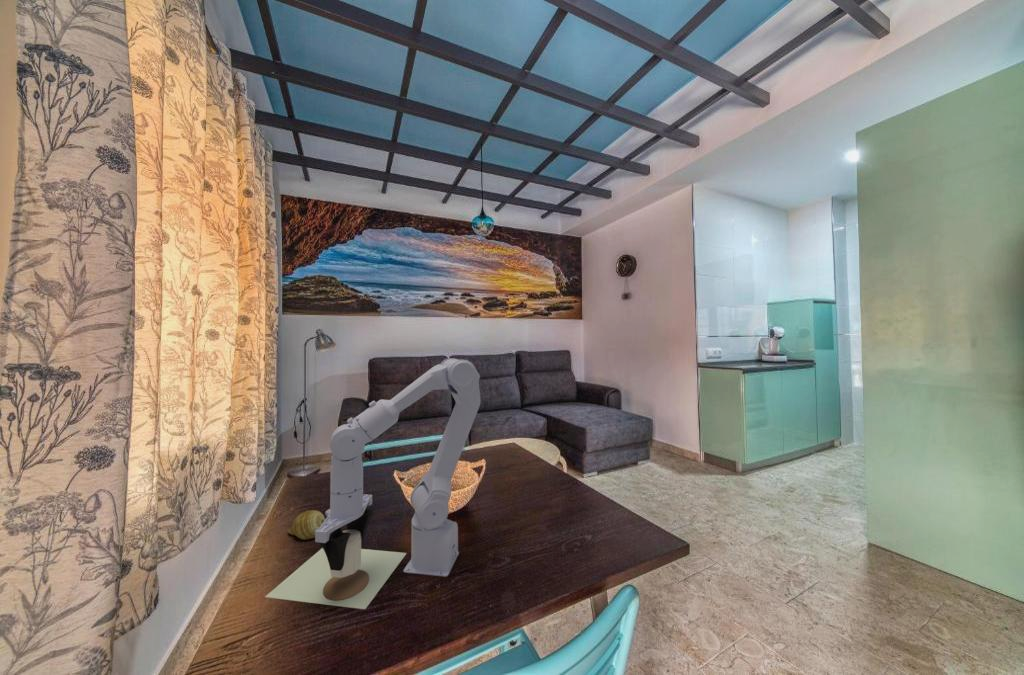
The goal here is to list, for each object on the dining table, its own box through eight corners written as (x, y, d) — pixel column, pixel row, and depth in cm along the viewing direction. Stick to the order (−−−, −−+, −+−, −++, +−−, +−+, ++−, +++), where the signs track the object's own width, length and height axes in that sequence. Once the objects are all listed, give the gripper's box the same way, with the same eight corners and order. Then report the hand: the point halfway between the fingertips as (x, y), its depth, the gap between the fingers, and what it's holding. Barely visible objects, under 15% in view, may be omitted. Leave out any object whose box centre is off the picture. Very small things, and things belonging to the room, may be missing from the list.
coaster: (377, 572, 69) (377, 571, 69) (352, 602, 61) (352, 601, 61) (341, 569, 70) (341, 567, 70) (312, 598, 62) (312, 596, 62)
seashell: (292, 552, 83) (272, 539, 78) (302, 522, 89) (285, 508, 84) (330, 544, 83) (314, 530, 78) (338, 514, 89) (323, 500, 84)
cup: (365, 560, 67) (366, 530, 67) (349, 578, 62) (349, 546, 62) (342, 558, 68) (342, 528, 68) (323, 575, 63) (324, 543, 63)
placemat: (406, 554, 75) (406, 553, 75) (365, 611, 59) (365, 609, 59) (325, 547, 78) (325, 545, 78) (264, 599, 62) (264, 596, 62)
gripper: (351, 472, 73) (350, 536, 73) (299, 504, 59) (298, 583, 59) (381, 474, 72) (381, 538, 72) (336, 507, 58) (336, 587, 58)
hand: (346, 559), depth 65 cm, fingers closed on cup, 5 cm apart
